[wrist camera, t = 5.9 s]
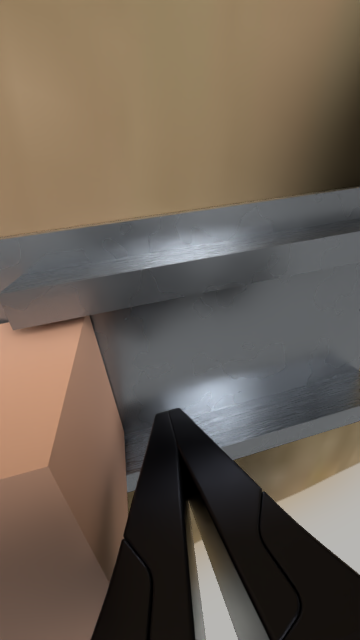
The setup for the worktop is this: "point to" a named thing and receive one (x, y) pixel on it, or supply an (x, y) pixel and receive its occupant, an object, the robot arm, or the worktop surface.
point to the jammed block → (57, 481)
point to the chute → (209, 314)
